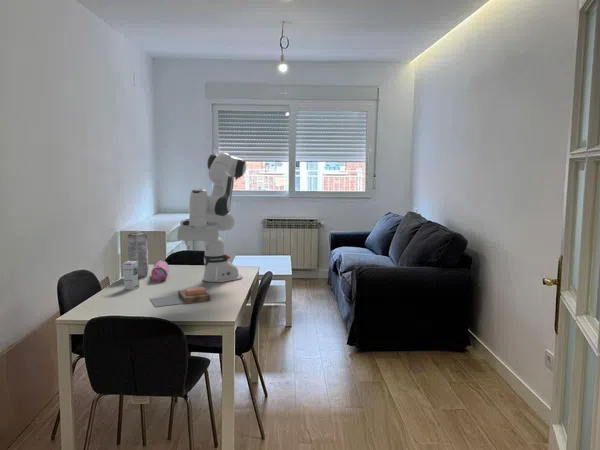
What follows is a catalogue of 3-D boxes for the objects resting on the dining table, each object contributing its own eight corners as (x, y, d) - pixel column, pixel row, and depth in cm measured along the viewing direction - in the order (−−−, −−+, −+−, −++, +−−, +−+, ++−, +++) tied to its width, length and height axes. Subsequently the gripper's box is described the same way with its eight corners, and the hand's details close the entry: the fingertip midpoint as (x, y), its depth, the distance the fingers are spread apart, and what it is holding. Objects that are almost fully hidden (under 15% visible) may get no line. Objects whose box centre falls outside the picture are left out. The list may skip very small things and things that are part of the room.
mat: (178, 295, 260) (178, 295, 260) (185, 303, 245) (185, 302, 245) (149, 299, 254) (149, 298, 254) (155, 307, 239) (155, 306, 239)
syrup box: (134, 289, 274) (132, 262, 272) (123, 289, 275) (122, 262, 273) (139, 287, 279) (138, 260, 278) (129, 286, 280) (128, 260, 279)
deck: (201, 293, 265) (201, 288, 264) (210, 300, 250) (210, 295, 250) (178, 295, 260) (178, 290, 259) (185, 303, 245) (185, 298, 245)
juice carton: (147, 277, 304) (145, 231, 301) (128, 278, 302) (126, 232, 299) (149, 274, 313) (147, 229, 309) (131, 274, 311) (129, 230, 308)
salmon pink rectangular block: (203, 290, 260) (203, 286, 260) (206, 293, 254) (206, 289, 254) (185, 292, 256) (185, 288, 256) (188, 295, 251) (187, 291, 250)
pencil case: (167, 281, 292) (166, 266, 291) (150, 282, 291) (149, 266, 290) (169, 273, 313) (169, 259, 312) (154, 274, 312) (153, 259, 311)
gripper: (219, 221, 261) (218, 248, 262) (177, 221, 257) (177, 248, 258) (219, 222, 255) (219, 250, 256) (177, 222, 251) (176, 250, 252)
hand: (198, 249), depth 257 cm, fingers open, 8 cm apart
